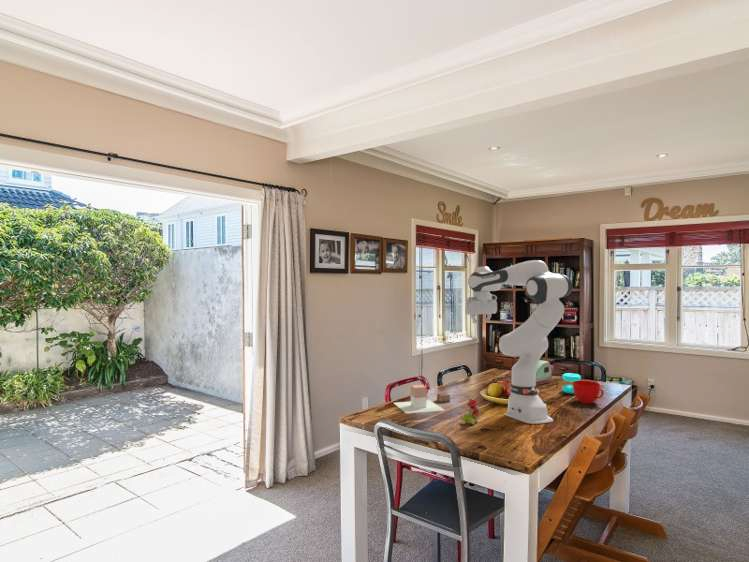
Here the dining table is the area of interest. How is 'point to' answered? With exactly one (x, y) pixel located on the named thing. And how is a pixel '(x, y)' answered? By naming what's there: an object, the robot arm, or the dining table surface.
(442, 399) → the walnut cube
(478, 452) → the dining table surface
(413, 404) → the block
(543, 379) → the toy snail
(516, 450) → the dining table surface
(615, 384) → the dining table surface
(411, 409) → the baseplate
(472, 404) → the bird rattle
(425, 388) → the block
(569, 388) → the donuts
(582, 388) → the ceramic cup
